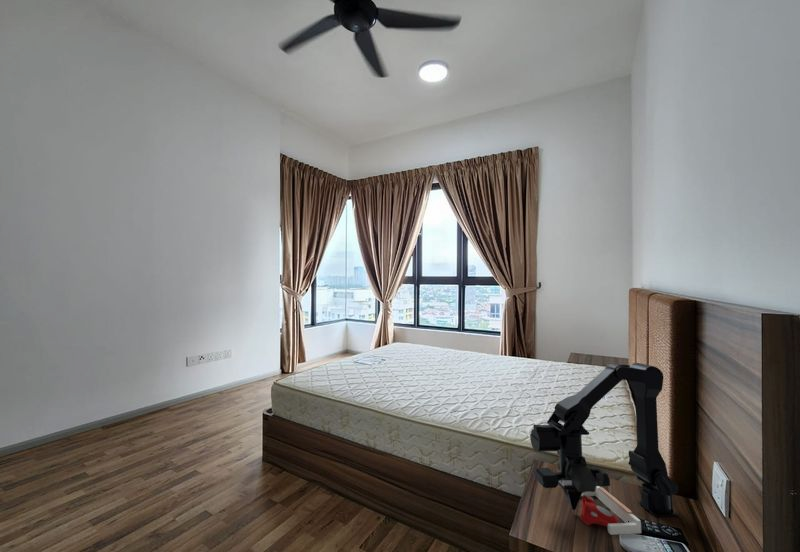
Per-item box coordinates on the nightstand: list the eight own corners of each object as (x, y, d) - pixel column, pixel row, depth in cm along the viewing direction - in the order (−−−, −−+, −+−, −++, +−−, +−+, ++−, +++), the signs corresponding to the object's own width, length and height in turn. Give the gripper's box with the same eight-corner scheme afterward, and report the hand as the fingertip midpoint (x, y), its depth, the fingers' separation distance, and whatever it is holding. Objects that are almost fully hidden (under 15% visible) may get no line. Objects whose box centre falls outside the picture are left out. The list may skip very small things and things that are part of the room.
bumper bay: (596, 493, 104) (595, 482, 104) (641, 533, 86) (640, 518, 86) (570, 494, 103) (570, 483, 103) (610, 534, 85) (609, 520, 86)
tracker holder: (629, 521, 89) (606, 523, 85) (623, 537, 89) (600, 540, 85) (587, 488, 100) (564, 488, 96) (582, 502, 100) (559, 503, 96)
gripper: (552, 464, 87) (554, 529, 86) (623, 462, 88) (626, 526, 87) (532, 446, 98) (534, 503, 97) (596, 444, 99) (598, 501, 98)
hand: (573, 509), depth 94 cm, fingers closed
